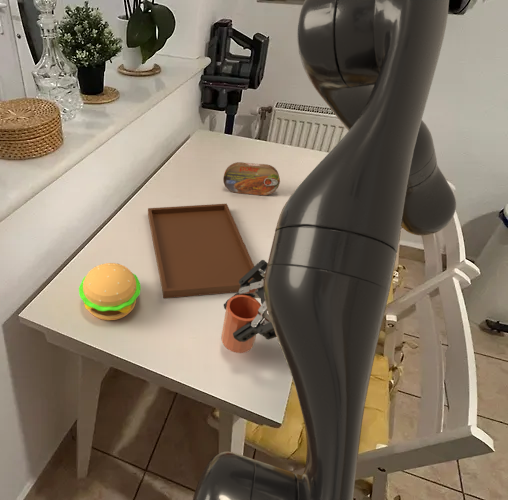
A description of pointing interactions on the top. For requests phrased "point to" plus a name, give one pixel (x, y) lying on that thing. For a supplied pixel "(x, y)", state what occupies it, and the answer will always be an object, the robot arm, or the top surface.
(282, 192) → the top surface
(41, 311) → the top surface
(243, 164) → the tin
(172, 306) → the top surface
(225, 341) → the reddish brown cup
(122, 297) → the hamburger
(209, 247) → the tray
